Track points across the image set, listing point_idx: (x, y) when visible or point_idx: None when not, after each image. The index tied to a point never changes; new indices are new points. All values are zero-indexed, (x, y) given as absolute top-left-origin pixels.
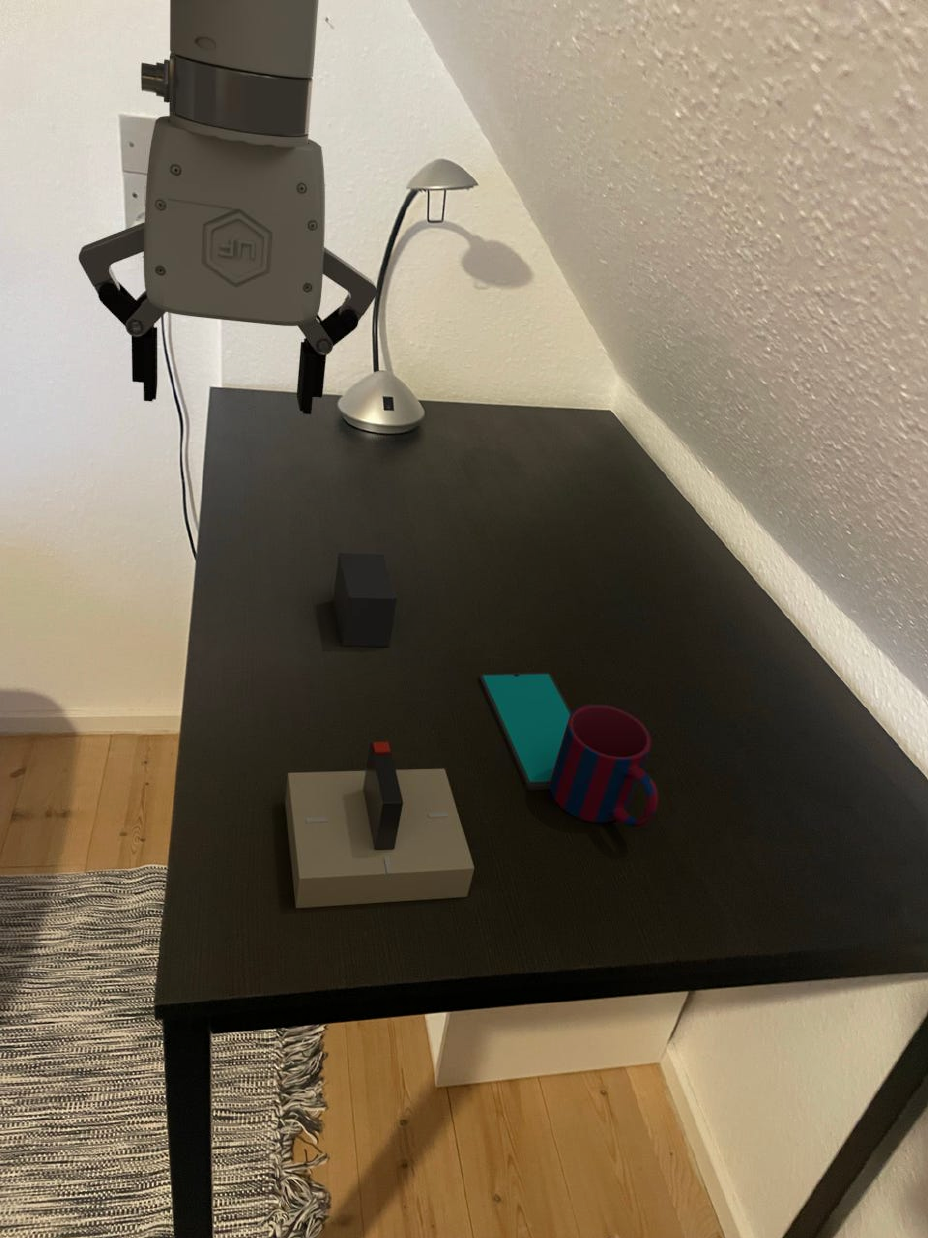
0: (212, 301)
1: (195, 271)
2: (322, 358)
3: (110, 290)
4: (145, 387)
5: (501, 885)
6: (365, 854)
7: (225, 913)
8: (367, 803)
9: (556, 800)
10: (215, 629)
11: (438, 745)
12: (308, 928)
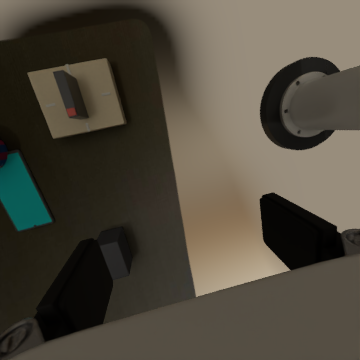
0: (293, 312)
1: None
2: (39, 319)
3: None
4: (279, 197)
5: (23, 87)
6: (80, 75)
7: (136, 59)
8: (84, 105)
9: (2, 142)
10: (177, 223)
11: (67, 170)
12: (103, 54)
